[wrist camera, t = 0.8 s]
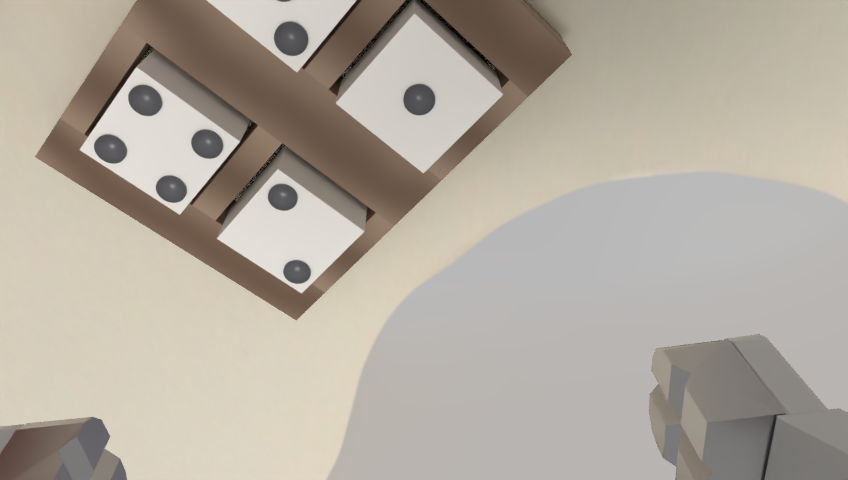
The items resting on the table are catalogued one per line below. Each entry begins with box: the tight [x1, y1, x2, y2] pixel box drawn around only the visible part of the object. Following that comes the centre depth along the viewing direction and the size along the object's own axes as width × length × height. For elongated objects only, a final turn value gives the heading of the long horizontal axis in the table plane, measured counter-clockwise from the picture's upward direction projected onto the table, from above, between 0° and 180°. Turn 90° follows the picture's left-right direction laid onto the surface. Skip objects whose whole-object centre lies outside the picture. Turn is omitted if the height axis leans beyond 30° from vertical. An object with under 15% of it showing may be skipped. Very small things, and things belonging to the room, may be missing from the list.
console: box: [35, 0, 572, 320], centre depth 37 cm, size 24×18×3 cm
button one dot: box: [336, 0, 503, 173], centre depth 35 cm, size 6×6×3 cm
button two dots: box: [217, 146, 367, 293], centre depth 40 cm, size 6×6×3 cm
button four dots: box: [80, 49, 251, 215], centre depth 36 cm, size 6×6×3 cm
